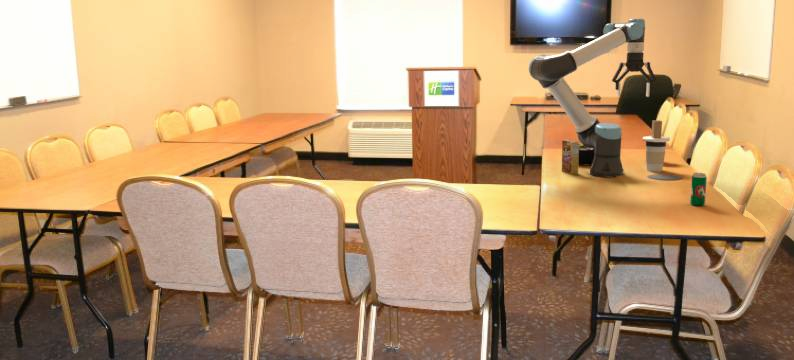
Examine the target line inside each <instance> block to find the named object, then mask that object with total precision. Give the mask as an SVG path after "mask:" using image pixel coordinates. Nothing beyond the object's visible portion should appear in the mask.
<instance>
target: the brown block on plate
mask: <svg viewBox="0 0 794 360" xmlns="http://www.w3.org/2000/svg"><path fill="white" fill-rule="evenodd" d="M651 122H652V123H651V135H648V136H647V135H646V136H643V137H642V141H643V142H646V141H648V142H666V143H668V142H670V141H671V140H670V139H671V138H670V136H664V135H663V136H662V133H663V132H662V129H663V128H662V127H663V120H660V119H659V120H658V119H657V120H655V119H654V120H653V119H652V120H651Z"/></svg>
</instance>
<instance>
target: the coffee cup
mask: <svg viewBox="0 0 794 360" xmlns="http://www.w3.org/2000/svg"><path fill="white" fill-rule="evenodd" d="M666 144H667V142H666V143H664V142H648V143H646V142H645V163H646V165H645V166H646V171H648V172H653V173H655V172H658V173H659V172H663V167H664V164H665V155H666V146H667V145H666Z"/></svg>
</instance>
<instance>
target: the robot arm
mask: <svg viewBox="0 0 794 360" xmlns="http://www.w3.org/2000/svg"><path fill="white" fill-rule="evenodd" d="M603 27H604V28H603V32H602V33H603V35H601V36H599V37H598V38H596V39H594V40H592V41H590V42H588V43H585V44H584V45H581V46H579V47H578V48H576V49H574V50H571V51H569V50H567V51H564V52H563V53H560V54H554V55H553V54H552V55H551V54H549V55H548V54H547V55H546V54H540V55H537V56H535V57H533V58H532V60H531V61H530V63H529V66H528V73H529V75H530V76H531V78H533V79H534V80H536V81H537V82H538V83H539V84H540V86H541V87H542V89H544V90H545V89H547V90H549V92H550V93H551V95H552V96H553V97H554V99H555V100H556V101H557V103H558V104H559V106H560V107H561V108H562V110H563V111H564V112H565V114H566V115H567V116H568V118H569V119H570V121H571V122H572V123H573V124H574V126H575V128H574V131H575V133H576V135H577V140H578V142H579V143H580V144H583V145H585V146H587V147H591V148H594V149H595V153H594V160H593V163H592V164H591V167H590V168H589V174H590V175H591V176H594V177H600V178H601V177H602V178H617V177H619V176H624V173H625V171H624V167H623V164H622V159H621V151H622V150H621V149H622V136H623V134H622V128H621V127H622V126H620V125H619V124H616V123H611V122H600V121H599V119H598V117H596V116H595V115H591V114H590V112H589V111H588V110H587V108H586V106H585V105H584V104H583V103H582V102H581V99H580V98H579V97H578V96H577V94H575V92H574V90H573V89H572V88H571V86H570V85H569V84H568V82H567V80H565V78H564V77H566V76H569V74H572V73H573V72H576V71H577V69H578V68H579V67H581V66H582V65H585V64H586V63H588V62H590V61H593V60H594V59H597V58H598V57H600V56H602V55H605V54H607V53H608V52H610V51H612V50H614V49H616V48H618V47H620V46H623V45H624V44H626V43H627V47H626V48H627V50H626V51H627V53H626V62H619V65H618V68H617V70H616V72H615V74H614V75H613V78H612V79H611V82H613V83H615V90H616V91H617V92H616V93H617V95H616V96H617V98H621V87H622V86H621V85H622V84H621V83H620V82H621V81H622V80H623V79H624V78H625V77H626V76H627V74H628V73H634V72H635V73H637V72H640V73H641V74H642V76H643V77H644V78H645V80H646V81H647V82H646V92H645V96H646V97H647V98H649V97H650V90H652V89H653V83H654V82H657V78H656V76H655V73H654V72H653V70H652V68H651V67H652V66H651V62H650V61H647V62H644V48H645V35H646V34H645V31H646V21H645V19H644V18H630V19H628V22H617V23H613V22H612V23H607V24H605V26H603ZM644 66H645V67H646V69H647V72H648V74H649V75H648V74H647V73H646V71H645V70H644V69H643V67H644ZM624 67H626V68H625V70H624V71H623V72H622V70H623V68H624ZM621 72H622V73H621ZM620 74H621V75H620Z"/></svg>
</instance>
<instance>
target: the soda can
mask: <svg viewBox="0 0 794 360" xmlns="http://www.w3.org/2000/svg"><path fill="white" fill-rule="evenodd" d="M707 179H708V178H707V174H706V173H704V172H693V174H692V175H691V187H690V198H689V199H690V200H689V201H690V202H689V203H690V204H691V206H695V207H703V206H705V204H706V192H707V181H708V180H707Z"/></svg>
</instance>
